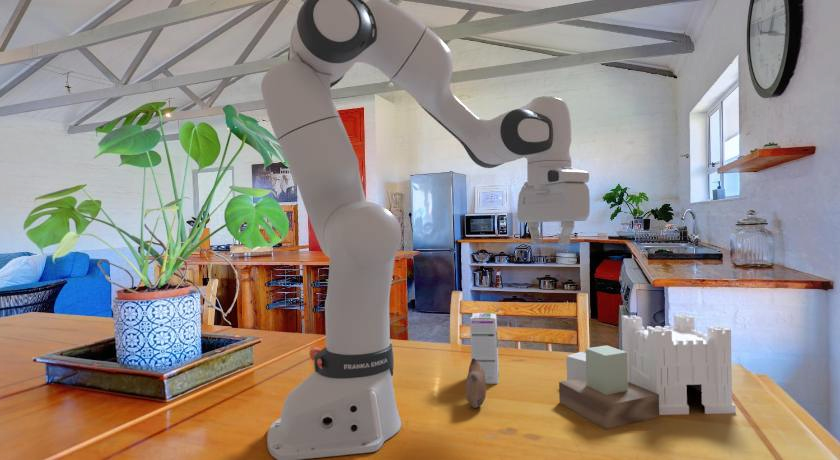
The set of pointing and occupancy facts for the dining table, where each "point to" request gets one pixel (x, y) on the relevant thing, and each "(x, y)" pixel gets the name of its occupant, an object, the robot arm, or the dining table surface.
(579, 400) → the walnut block
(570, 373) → the grey block
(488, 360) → the syrup box
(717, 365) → the castle model
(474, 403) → the brown tapered rounded piece
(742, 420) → the dining table surface
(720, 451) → the dining table surface
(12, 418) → the dining table surface
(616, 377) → the green block
